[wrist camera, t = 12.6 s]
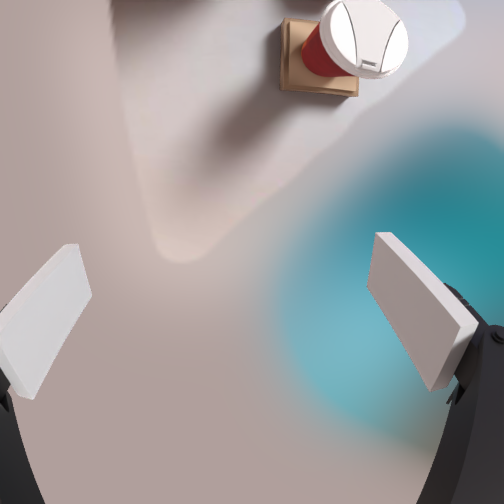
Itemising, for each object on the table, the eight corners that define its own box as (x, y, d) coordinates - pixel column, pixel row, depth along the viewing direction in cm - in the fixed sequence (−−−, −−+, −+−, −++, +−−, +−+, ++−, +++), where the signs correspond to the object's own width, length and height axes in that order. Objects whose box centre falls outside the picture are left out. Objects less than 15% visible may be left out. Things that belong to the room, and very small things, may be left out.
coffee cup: (351, 90, 35) (410, 88, 21) (288, 80, 34) (320, 66, 21) (356, 33, 31) (414, 6, 18) (294, 20, 30) (326, -21, 17)
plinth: (281, 24, 34) (285, 16, 30) (350, 33, 34) (361, 27, 31) (279, 90, 38) (284, 88, 35) (349, 96, 39) (359, 96, 35)
